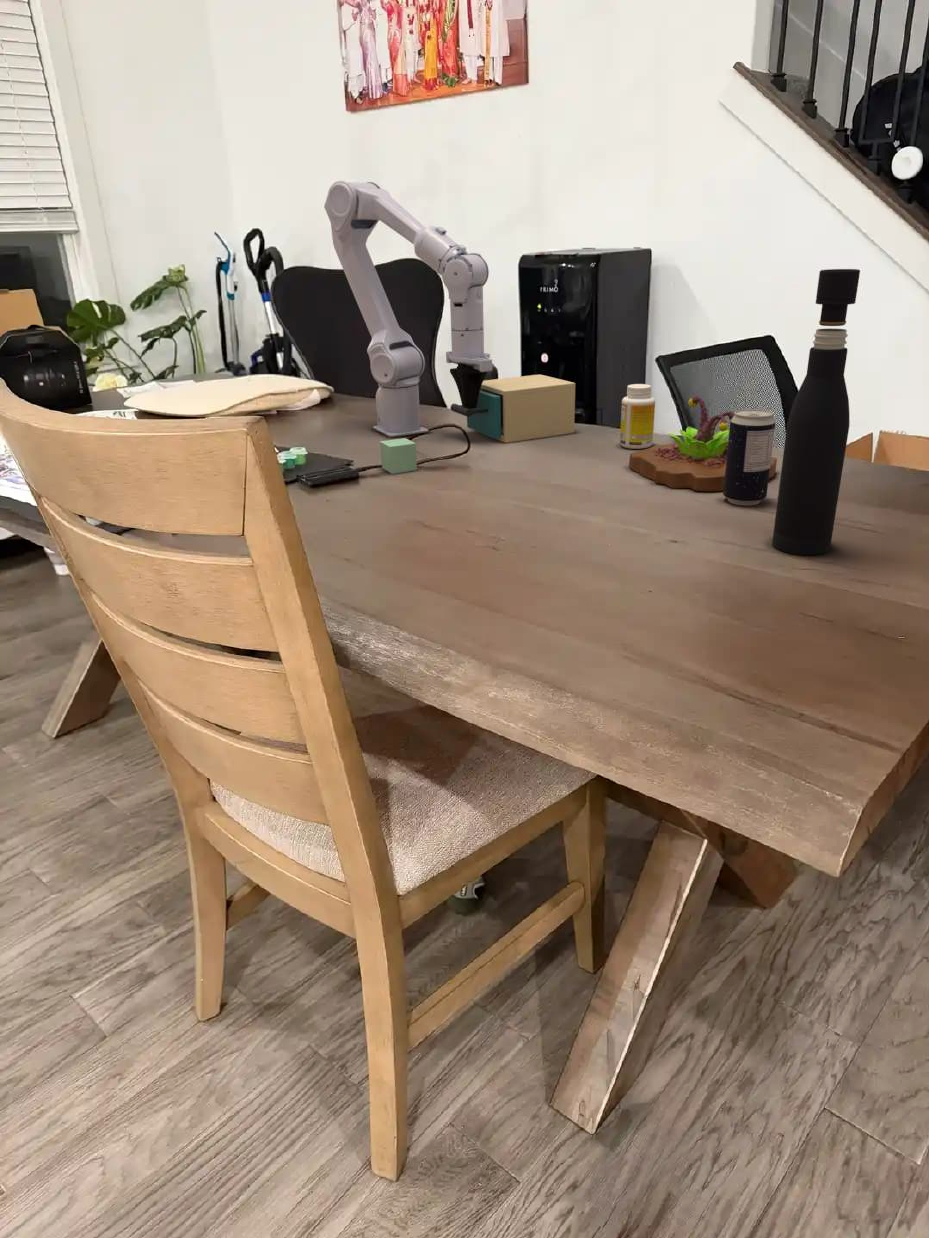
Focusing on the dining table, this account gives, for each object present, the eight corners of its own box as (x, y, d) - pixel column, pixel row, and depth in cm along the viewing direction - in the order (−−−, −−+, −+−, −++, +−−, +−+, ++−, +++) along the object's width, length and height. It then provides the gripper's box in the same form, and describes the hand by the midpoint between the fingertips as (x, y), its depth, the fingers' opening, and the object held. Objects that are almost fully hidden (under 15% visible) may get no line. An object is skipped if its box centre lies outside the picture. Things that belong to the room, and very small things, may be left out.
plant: (705, 450, 142) (711, 382, 137) (796, 475, 126) (806, 399, 121) (608, 467, 134) (611, 396, 129) (693, 497, 118) (700, 416, 113)
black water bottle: (824, 559, 95) (868, 271, 82) (765, 550, 98) (800, 272, 86) (835, 542, 100) (878, 268, 87) (779, 534, 103) (813, 268, 90)
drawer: (472, 441, 149) (471, 400, 146) (445, 430, 159) (444, 390, 156) (559, 429, 156) (560, 389, 153) (528, 419, 166) (528, 381, 162)
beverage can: (766, 496, 117) (776, 409, 112) (765, 508, 112) (776, 417, 107) (723, 494, 119) (732, 407, 114) (721, 505, 114) (729, 416, 109)
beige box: (505, 443, 152) (504, 391, 148) (474, 430, 162) (472, 381, 158) (574, 433, 157) (575, 383, 153) (539, 421, 168) (540, 374, 164)
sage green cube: (382, 468, 138) (380, 441, 136) (406, 464, 140) (405, 438, 138) (391, 474, 134) (390, 446, 133) (417, 470, 136) (415, 443, 134)
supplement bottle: (659, 446, 146) (663, 385, 142) (638, 451, 143) (641, 389, 138) (634, 441, 150) (637, 382, 146) (613, 446, 147) (615, 386, 142)
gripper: (507, 331, 143) (508, 412, 148) (469, 324, 155) (471, 399, 160) (470, 334, 140) (472, 416, 146) (434, 327, 152) (437, 404, 158)
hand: (469, 408), depth 153 cm, fingers closed
